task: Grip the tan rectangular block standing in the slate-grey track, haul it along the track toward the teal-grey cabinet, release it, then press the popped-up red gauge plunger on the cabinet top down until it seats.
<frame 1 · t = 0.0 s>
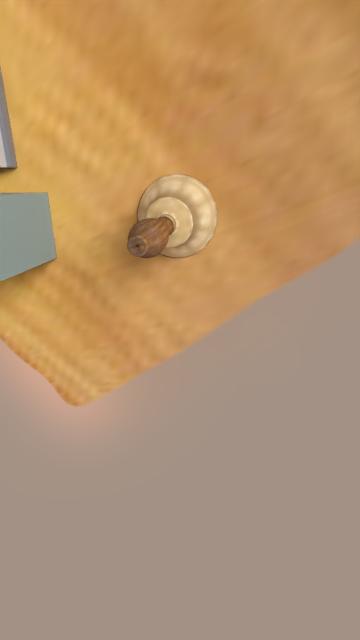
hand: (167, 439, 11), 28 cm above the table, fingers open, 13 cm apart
hand bell: (177, 217, 36), on the table
cabinet: (10, 226, 39), on the table
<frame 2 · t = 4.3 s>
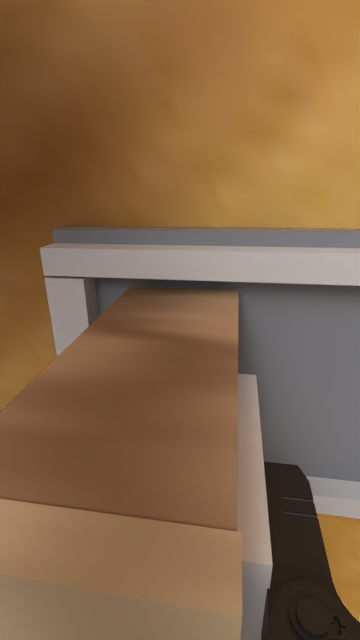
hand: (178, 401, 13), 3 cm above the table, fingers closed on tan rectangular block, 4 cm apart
tan rectangular block: (156, 480, 9), point 6 cm above the table, slide at 0.0 cm, touching gripper
track: (330, 376, 14), on the table
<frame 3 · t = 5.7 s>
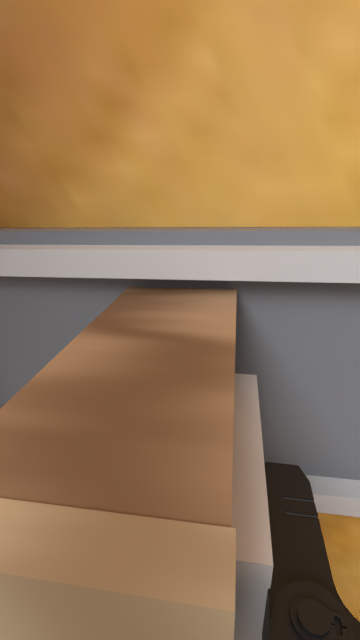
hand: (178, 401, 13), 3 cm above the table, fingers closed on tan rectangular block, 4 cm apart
tan rectangular block: (156, 480, 9), point 6 cm above the table, slide at 5.6 cm, touching gripper
track: (196, 367, 15), on the table
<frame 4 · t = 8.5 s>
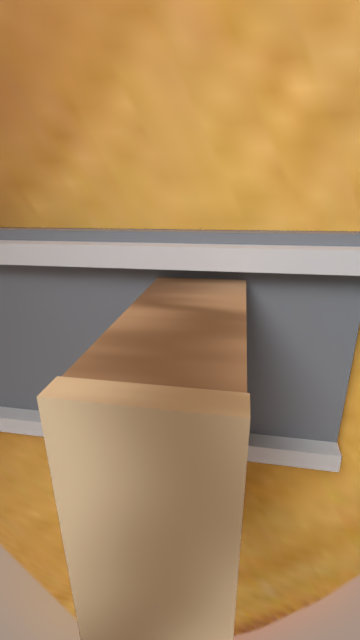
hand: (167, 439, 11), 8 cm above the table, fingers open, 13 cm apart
tan rectangular block: (183, 420, 12), point 6 cm above the table, slide at 9.9 cm
track: (132, 341, 19), on the table
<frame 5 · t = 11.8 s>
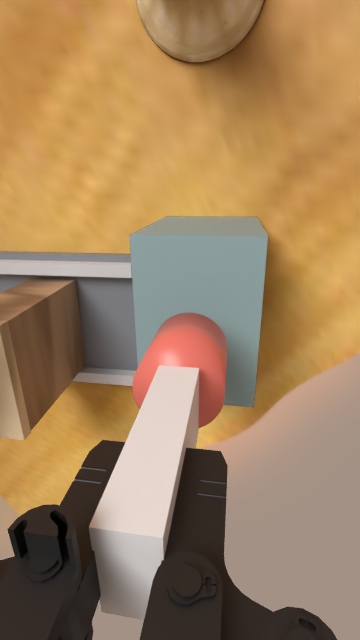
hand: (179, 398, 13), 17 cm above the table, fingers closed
tan rectangular block: (27, 348, 26), point 6 cm above the table, slide at 9.9 cm
cabinet: (209, 279, 28), on the table
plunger: (184, 366, 15), point 14 cm above the table, slide at 2.2 cm, touching gripper
track: (27, 315, 32), on the table
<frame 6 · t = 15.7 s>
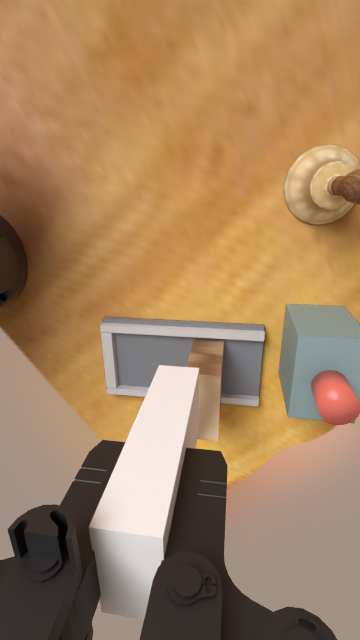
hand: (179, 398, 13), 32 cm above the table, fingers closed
hand bell: (321, 186, 39), on the table
tan rectangular block: (205, 385, 43), point 6 cm above the table, slide at 9.9 cm
cabinet: (309, 340, 45), on the table
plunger: (334, 396, 34), point 13 cm above the table, slide at 0.5 cm
track: (182, 359, 49), on the table
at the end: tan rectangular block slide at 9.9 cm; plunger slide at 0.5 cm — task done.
